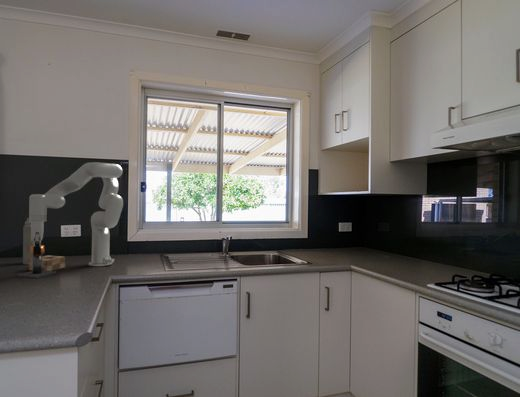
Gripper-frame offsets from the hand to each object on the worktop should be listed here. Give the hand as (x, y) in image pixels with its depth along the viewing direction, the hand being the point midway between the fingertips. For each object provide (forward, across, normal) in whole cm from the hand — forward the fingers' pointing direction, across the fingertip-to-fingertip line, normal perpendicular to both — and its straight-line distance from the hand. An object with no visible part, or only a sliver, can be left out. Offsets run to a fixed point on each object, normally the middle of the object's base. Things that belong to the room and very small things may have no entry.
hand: (37, 253), depth 174 cm
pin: (+10, 0, 0) cm, 10 cm away
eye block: (+11, -14, +4) cm, 18 cm away
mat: (+11, 0, 0) cm, 11 cm away
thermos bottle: (+11, -35, -4) cm, 37 cm away
